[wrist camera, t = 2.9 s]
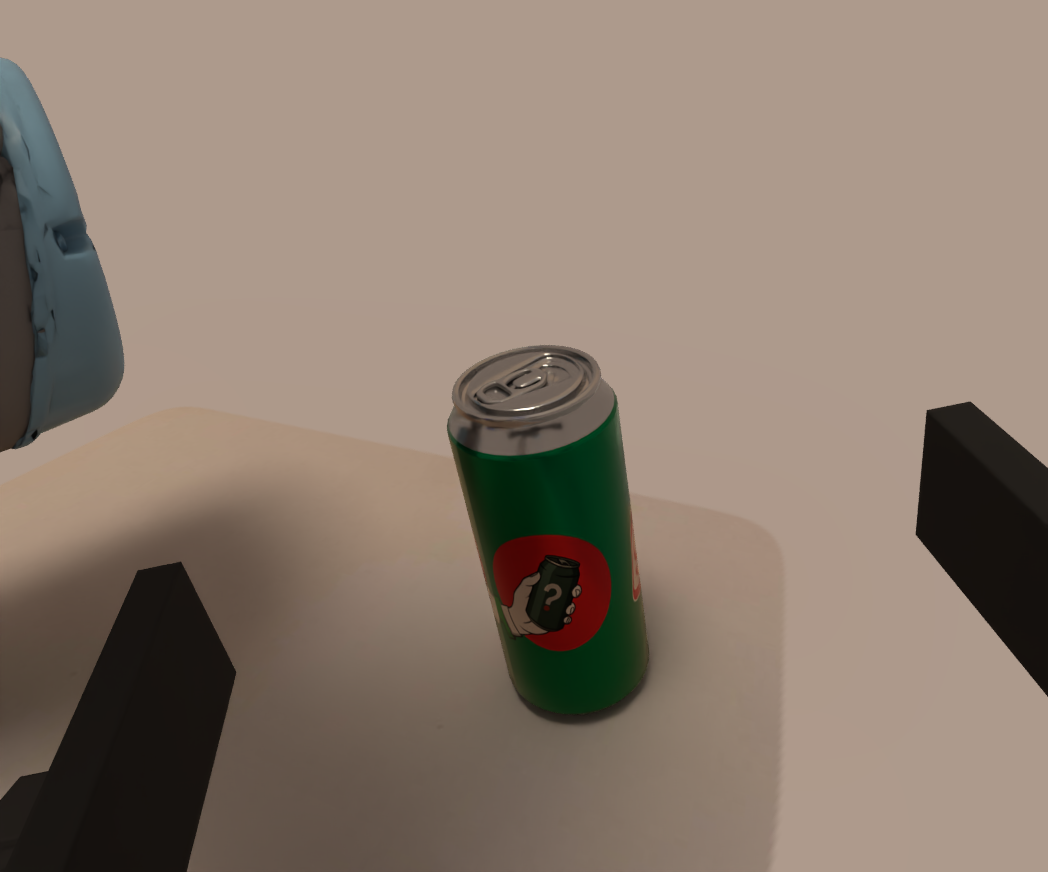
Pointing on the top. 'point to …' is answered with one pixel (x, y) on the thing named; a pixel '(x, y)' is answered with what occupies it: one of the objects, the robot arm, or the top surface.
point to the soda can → (552, 524)
